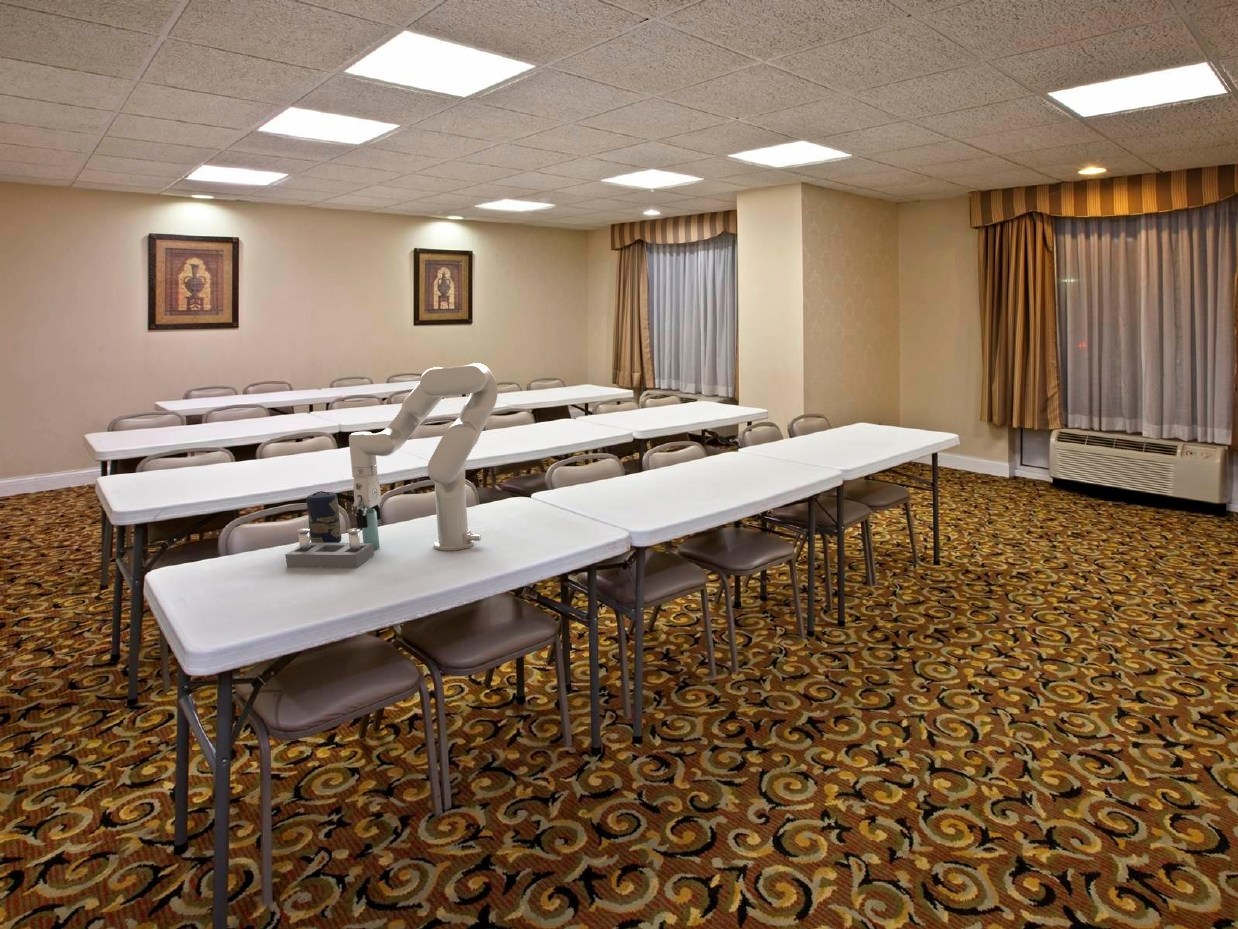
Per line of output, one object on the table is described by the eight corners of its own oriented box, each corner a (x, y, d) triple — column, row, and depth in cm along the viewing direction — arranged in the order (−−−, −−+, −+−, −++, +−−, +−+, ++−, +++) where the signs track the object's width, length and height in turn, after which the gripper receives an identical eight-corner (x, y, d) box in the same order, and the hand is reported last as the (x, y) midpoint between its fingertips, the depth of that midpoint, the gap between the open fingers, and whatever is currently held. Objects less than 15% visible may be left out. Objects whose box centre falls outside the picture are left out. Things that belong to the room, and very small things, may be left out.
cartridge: (382, 546, 241) (378, 507, 239) (375, 550, 236) (372, 511, 234) (367, 546, 242) (364, 507, 239) (361, 550, 237) (357, 511, 234)
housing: (374, 555, 232) (373, 543, 231) (357, 567, 220) (355, 555, 219) (307, 554, 234) (306, 542, 233) (286, 567, 222) (285, 554, 222)
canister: (331, 549, 239) (325, 495, 236) (305, 548, 241) (299, 494, 238) (347, 540, 248) (342, 488, 245) (322, 539, 250) (316, 487, 247)
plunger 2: (364, 555, 228) (362, 528, 226) (359, 559, 224) (356, 531, 222) (352, 555, 228) (350, 528, 226) (347, 559, 224) (344, 531, 223)
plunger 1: (315, 554, 229) (312, 528, 228) (308, 558, 226) (305, 531, 224) (303, 554, 230) (300, 527, 228) (297, 558, 226) (294, 531, 224)
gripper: (363, 476, 225) (368, 531, 229) (387, 465, 242) (391, 516, 245) (340, 476, 226) (345, 531, 229) (365, 465, 243) (369, 516, 246)
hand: (369, 523), depth 237 cm, fingers open, 9 cm apart
